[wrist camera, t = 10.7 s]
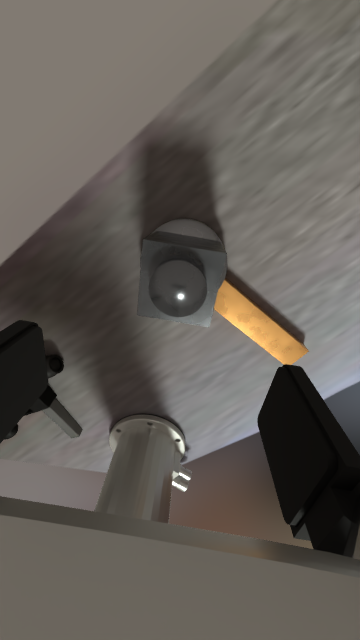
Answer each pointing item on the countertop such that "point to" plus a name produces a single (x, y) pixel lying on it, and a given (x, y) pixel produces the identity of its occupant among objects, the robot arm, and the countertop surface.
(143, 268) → the socket
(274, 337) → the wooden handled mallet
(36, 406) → the door handle
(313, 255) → the countertop surface
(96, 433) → the countertop surface
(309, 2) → the countertop surface
